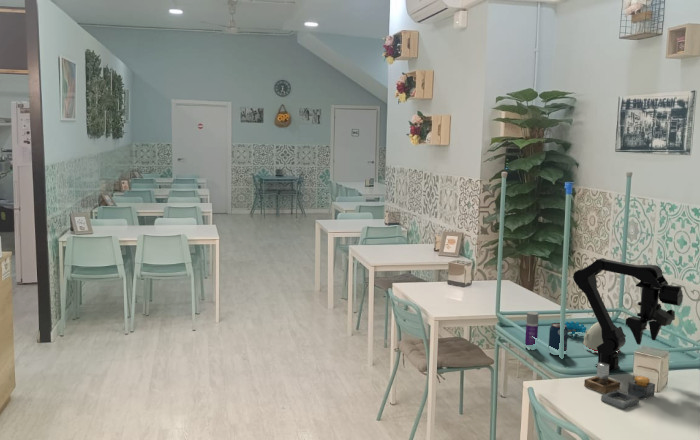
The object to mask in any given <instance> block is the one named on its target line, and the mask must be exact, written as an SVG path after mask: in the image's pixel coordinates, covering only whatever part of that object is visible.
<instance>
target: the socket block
mask: <svg viewBox="0 0 700 440" xmlns="http://www.w3.org/2000/svg"><path fill="white" fill-rule="evenodd" d="M655 391H656V384H655V383H653V382H649V383H647V385H646V386H642V385H639V384H637V382H636V381H635V379H634V380H631V381H628V386H627V393H625V392H622V391H620V390H619V389H618V390H615V391H612V392H610V393H607V394H604V393H603V394H602V395H601V396H600V397H601V398H600V400H601V402H604V403H606V404H609V405H611V406H614V407H616V408H619V409H621V410H626V409H628V408H631V407H634V406H637V405H640V399H642V400H646V399H648V398H651V397H654V396H655ZM617 398H619V399H622V400H624V401H621V400H619V399H617Z"/></svg>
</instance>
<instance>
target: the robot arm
mask: <svg viewBox="0 0 700 440" xmlns="http://www.w3.org/2000/svg"><path fill="white" fill-rule="evenodd" d="M602 271H606V272H610V273H614V274H620V275H624V276H625V275H626V276H630V277H633V278H635V279H636V280H638V281H639V282H637V284H635V287H637V288H638V287H639V288H641V292H640V293H641V294H640V295H641V296H640V301H638V302H637V306H639V308H640V309H639V312H637V315H636V316H634V315H633V316H629V317H627V318H625V326H627V327H628V328H629V330H630V331H631V333H632V335H633V338H634V340H635V343H636V344H637V345H638V346H641V343H642V340H643V336H644V335H643V334H644V331H646V330H647V325H648V326H649V327H648V328H649V331H650V337H651V340H652V341H656V340H657V337H658V335H659V333H660V330H661V328H662V327H666V326H670V325H672V322H673V321H674V320H675V319H676V318H675V317H676V314H675V310H673V309H669V310H668V309H667V310H665V309H662V305H661V303H662V304H667V305H673V306H676V307H679V306H681V305H682V303H683V299H684V298H683V297H684V294H683V290H682V286H681V285H671V284H669V283H668V281H667V279H666V278H665V276H664V275H663V274H664V273H663V270H662V268H661V267H660V266H659V265H657V264H632V263H627V262H622V261H615V260H612V259H606V258H604V257H601V258H597V259H595V261H593V262H592V263H590V264H589V265H588V266H586V267H585V268H584V267H583V268H581V269H578V270H576V271H575V272H574V273H573V276H572V277H573V278H572V279H573V282H574V283H575V285H577V288H579V290H580V291H581V292H582V293H584V294H585V296H586V299H587V301H588V303H589V305H590V307H591V309H592V312H593V314H594V315H595V318H596V320H597V322H599V325H600V327H601V331H602V340H603V343H602V344H601V345H599V346H598V347H597V350H598V353H599V354H598V357H597V363H596V364H595V365H597V364H598V363H607V364H609V372H610V371H615V370H618V369H620V367H621V366H619V364H620V363H619V360H620V358H619V357H620V356H619V353H617V352H616V351H618V350H619V351H620V349H621V348H622V347H624V346H625V345H626V337H627V335H626V334H625V333H624V330H623V328H622V326H618V327H617V325H615V324H614V322H613V320H612V318H611V316H610V313H609V311H608V309H607V307H606V305H605V303H604V301H603V298H602V297H601V294H600V292H599V290H598V287H597V286H598V285H597V283H598V282H597V278H596V276H597V275H598V274H599V273H601V272H602ZM659 302H661V303H659Z"/></svg>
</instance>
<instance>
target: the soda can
mask: <svg viewBox="0 0 700 440" xmlns="http://www.w3.org/2000/svg"><path fill="white" fill-rule="evenodd" d="M560 323H561V322H553V323H551V325H550V326H549V333H548V334H549V337H548V347H549V346H551V347H553V348H555V349H557V350H558V349H559V343H560ZM568 334H569V332H568V329H567V326H566V325H565V329H564V351H566V350H567V349H568V337H569V336H568ZM567 351H568V350H567Z"/></svg>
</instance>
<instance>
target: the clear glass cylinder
mask: <svg viewBox="0 0 700 440" xmlns="http://www.w3.org/2000/svg"><path fill="white" fill-rule="evenodd" d="M596 364H597V366H596V376H597V383H599V384H602V385H604V386H605V385H608V378H609V379H610V377H609V376H610V375H609V374H610V371H609V364H607V363H598V362H597V363H596Z"/></svg>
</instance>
